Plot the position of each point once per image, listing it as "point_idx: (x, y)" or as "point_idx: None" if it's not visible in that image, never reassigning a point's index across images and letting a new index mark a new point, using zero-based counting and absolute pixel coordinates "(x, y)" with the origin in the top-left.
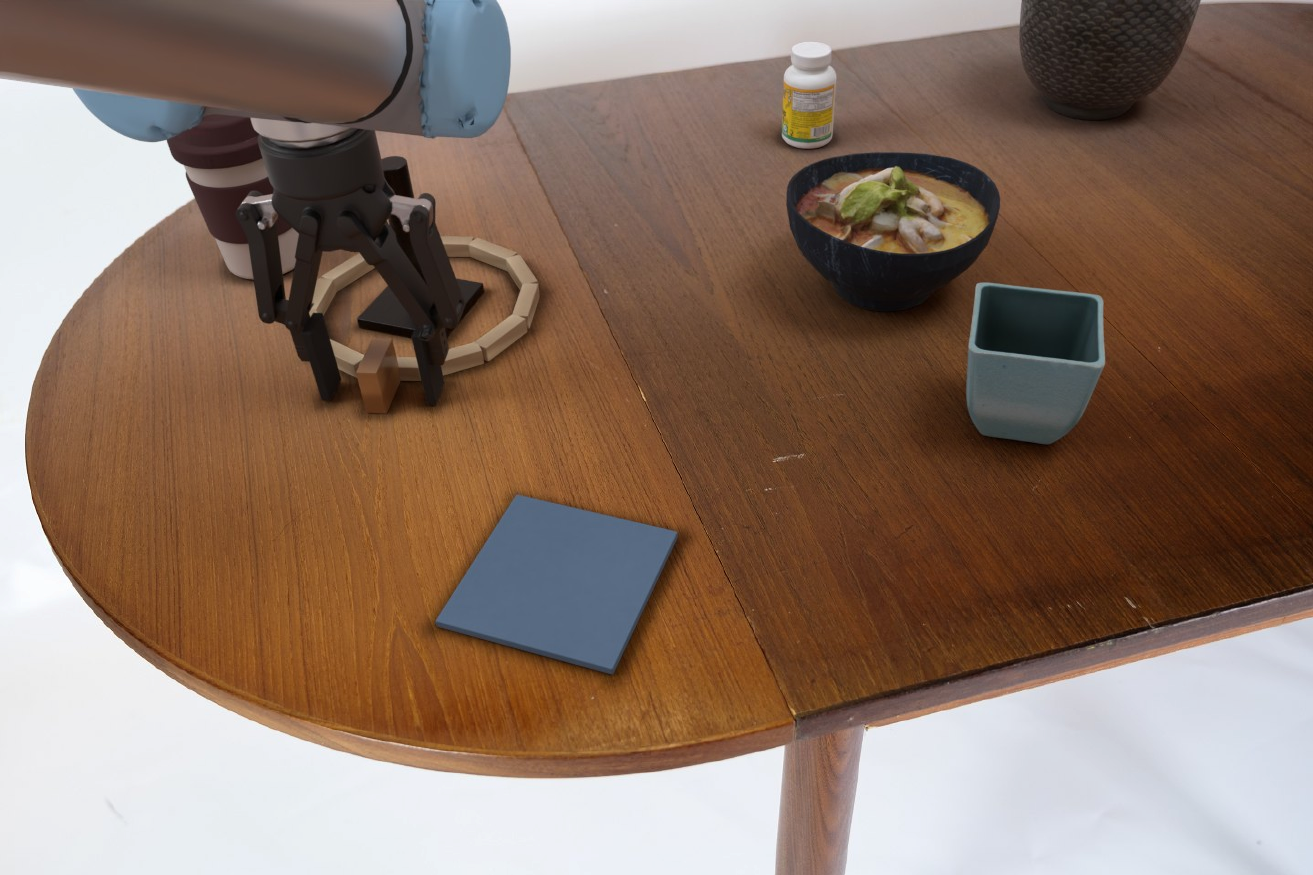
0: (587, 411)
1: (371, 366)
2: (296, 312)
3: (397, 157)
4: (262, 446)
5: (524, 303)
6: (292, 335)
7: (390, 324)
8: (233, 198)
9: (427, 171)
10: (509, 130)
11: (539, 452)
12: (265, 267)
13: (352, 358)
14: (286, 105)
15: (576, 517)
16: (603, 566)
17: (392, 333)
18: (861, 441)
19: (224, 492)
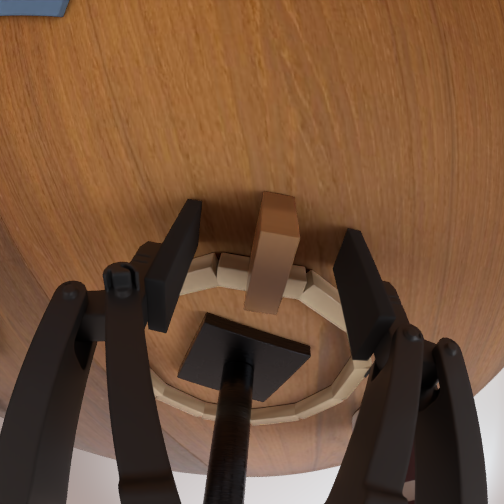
0: (22, 178)
1: (271, 250)
2: (405, 358)
3: None
4: (436, 154)
5: None
6: (406, 319)
7: (269, 345)
8: (410, 470)
9: (258, 455)
10: (208, 464)
11: (48, 103)
12: (462, 453)
13: (315, 296)
14: None
15: (8, 3)
16: None
17: (270, 334)
18: None
19: (473, 76)
